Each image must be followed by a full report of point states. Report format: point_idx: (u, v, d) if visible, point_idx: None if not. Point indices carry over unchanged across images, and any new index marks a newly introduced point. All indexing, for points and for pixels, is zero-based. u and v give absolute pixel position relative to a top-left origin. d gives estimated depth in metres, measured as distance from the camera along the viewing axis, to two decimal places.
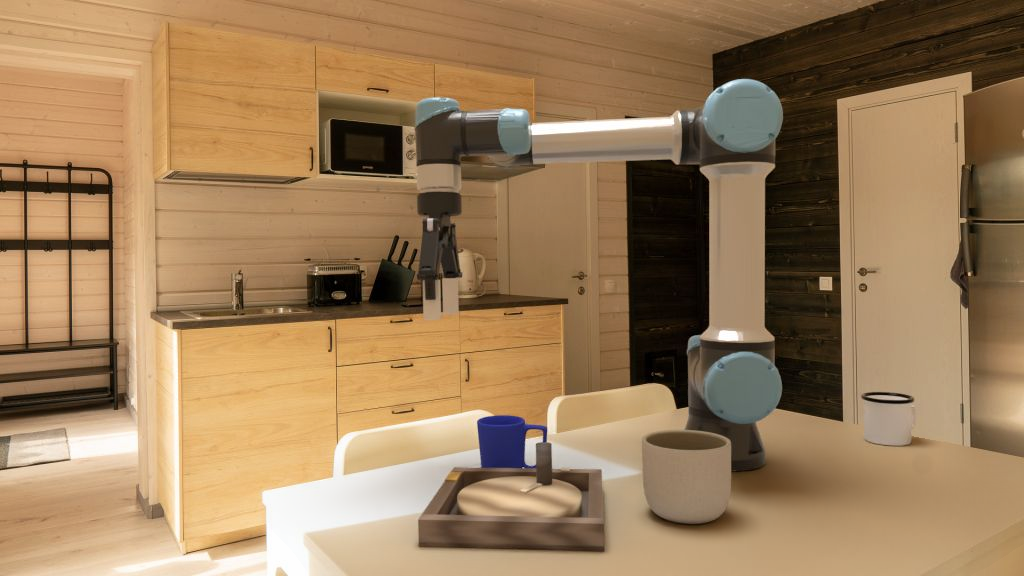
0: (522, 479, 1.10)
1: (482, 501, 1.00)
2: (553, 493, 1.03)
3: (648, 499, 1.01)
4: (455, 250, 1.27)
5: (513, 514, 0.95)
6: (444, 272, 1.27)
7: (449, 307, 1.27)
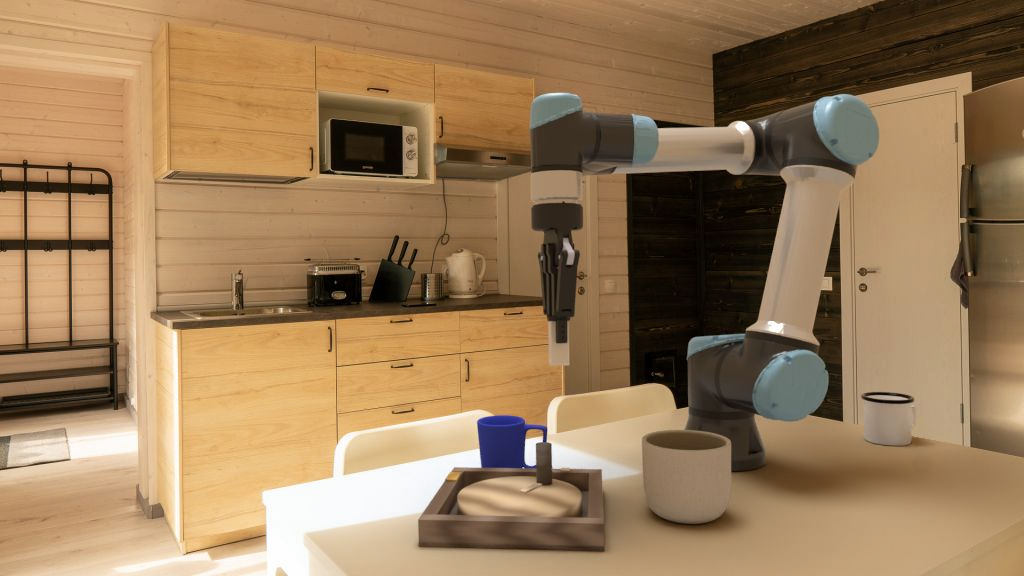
0: (522, 479, 1.10)
1: (482, 501, 1.00)
2: (553, 493, 1.03)
3: (648, 499, 1.01)
4: None
5: (513, 514, 0.95)
6: None
7: None
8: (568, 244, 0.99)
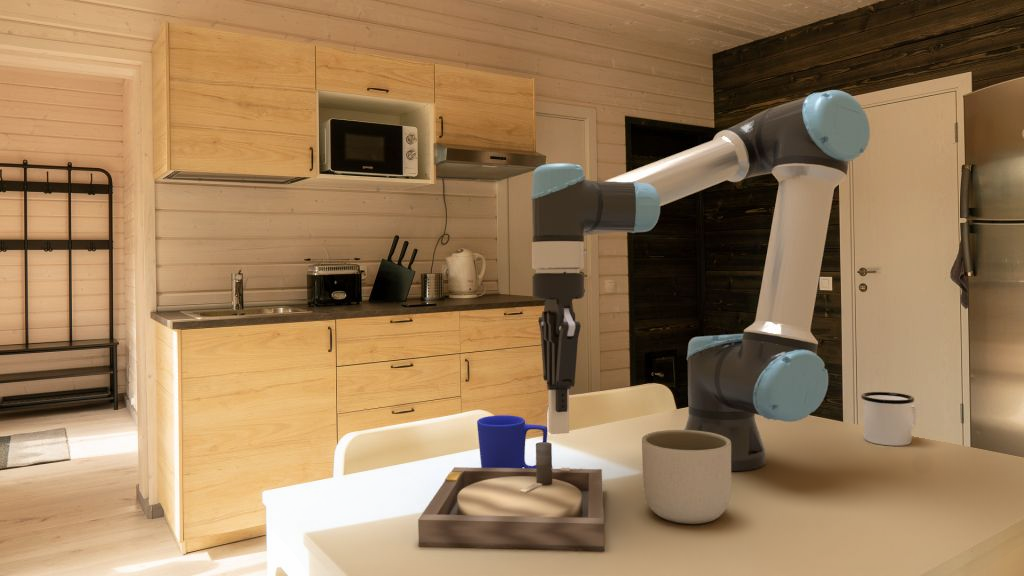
0: (522, 479, 1.10)
1: (482, 501, 1.00)
2: (553, 493, 1.03)
3: (648, 499, 1.01)
4: None
5: (513, 514, 0.95)
6: None
7: None
8: (569, 315, 0.99)
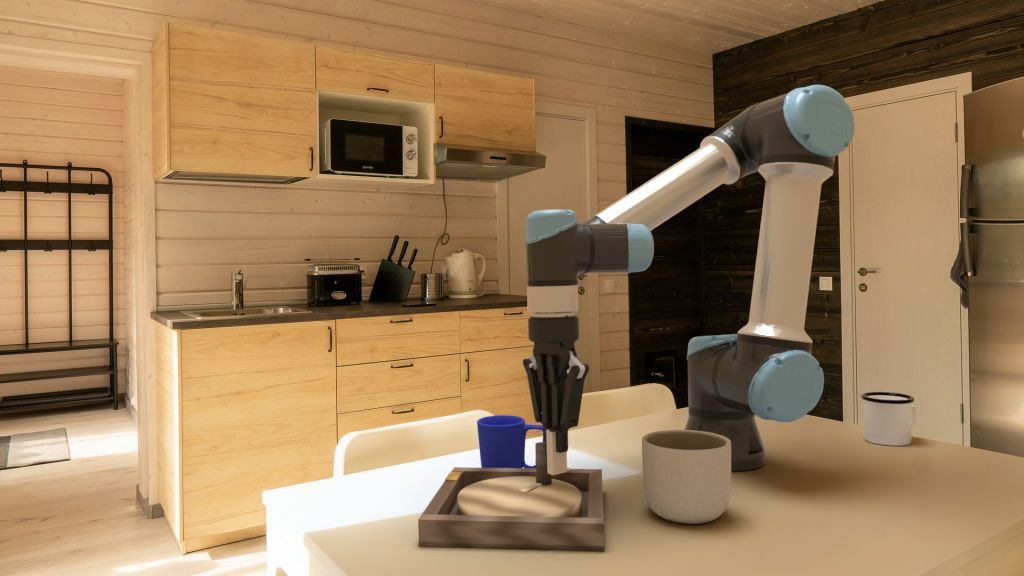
0: (522, 479, 1.10)
1: (483, 502, 1.00)
2: (553, 493, 1.03)
3: (648, 499, 1.01)
4: (565, 395, 1.02)
5: (514, 514, 0.95)
6: None
7: None
8: (574, 358, 1.02)
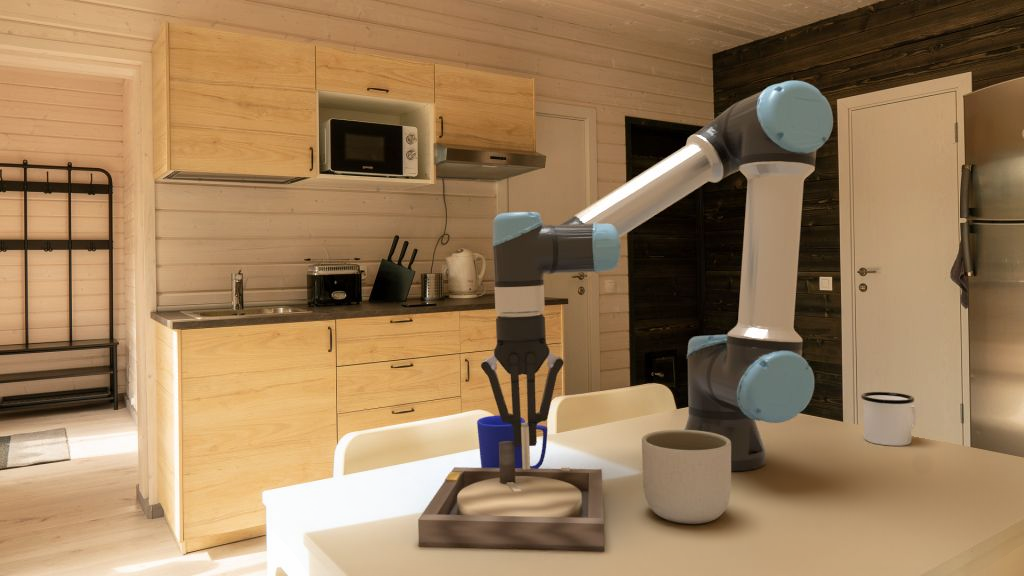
0: (483, 484, 1.08)
1: (513, 508, 0.97)
2: (538, 485, 1.07)
3: (648, 499, 1.01)
4: (546, 388, 1.08)
5: (562, 506, 0.97)
6: None
7: None
8: None
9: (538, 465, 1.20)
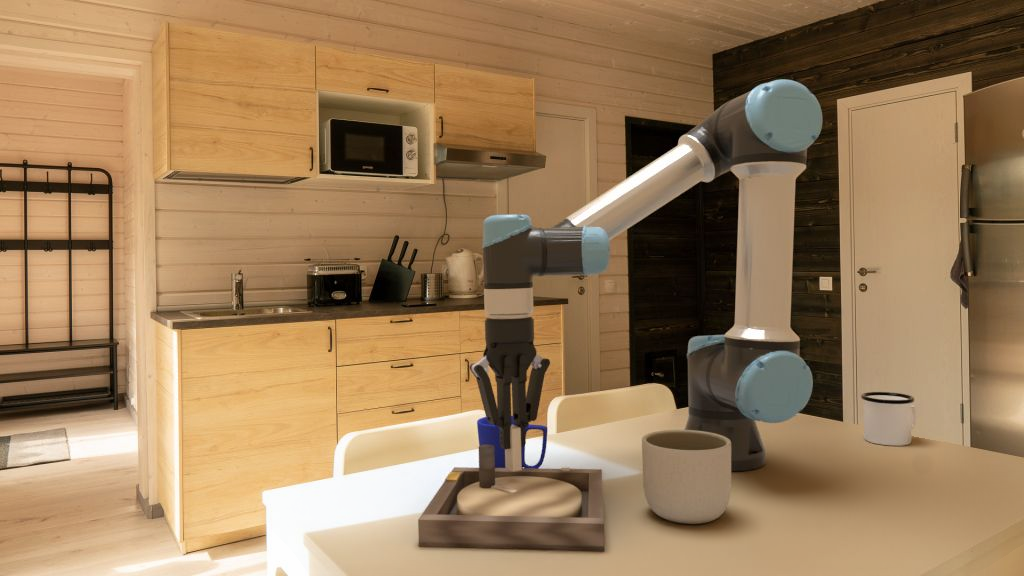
0: (470, 492, 1.04)
1: (536, 507, 0.97)
2: (520, 484, 1.08)
3: (648, 499, 1.01)
4: (535, 388, 1.10)
5: (575, 497, 1.01)
6: (513, 414, 1.10)
7: None
8: None
9: (538, 465, 1.20)
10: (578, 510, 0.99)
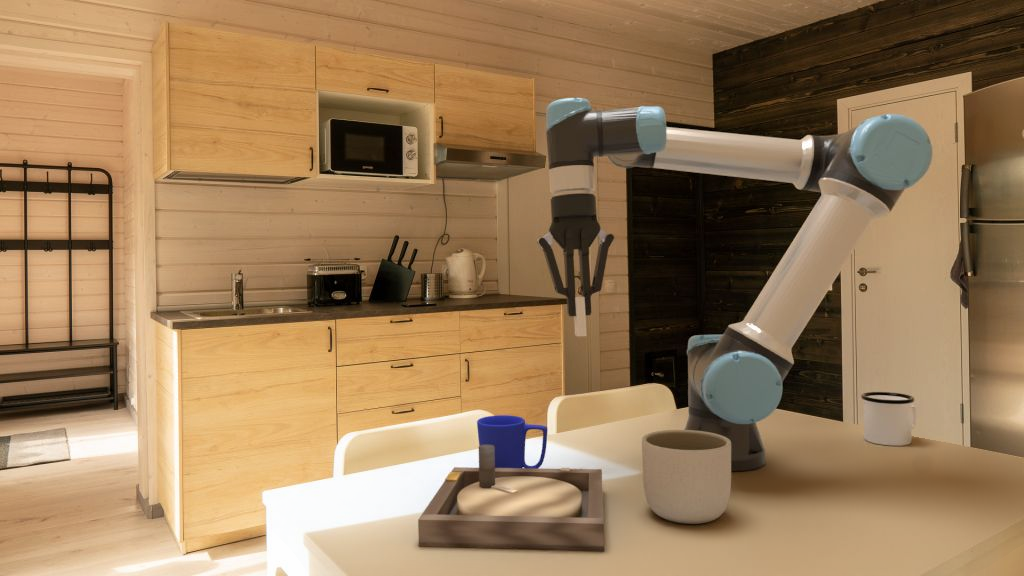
0: (470, 492, 1.04)
1: (536, 507, 0.97)
2: (520, 484, 1.08)
3: (648, 499, 1.01)
4: (599, 261, 1.18)
5: (575, 497, 1.01)
6: (581, 286, 1.20)
7: None
8: (600, 229, 1.19)
9: (538, 465, 1.20)
10: (578, 510, 0.99)
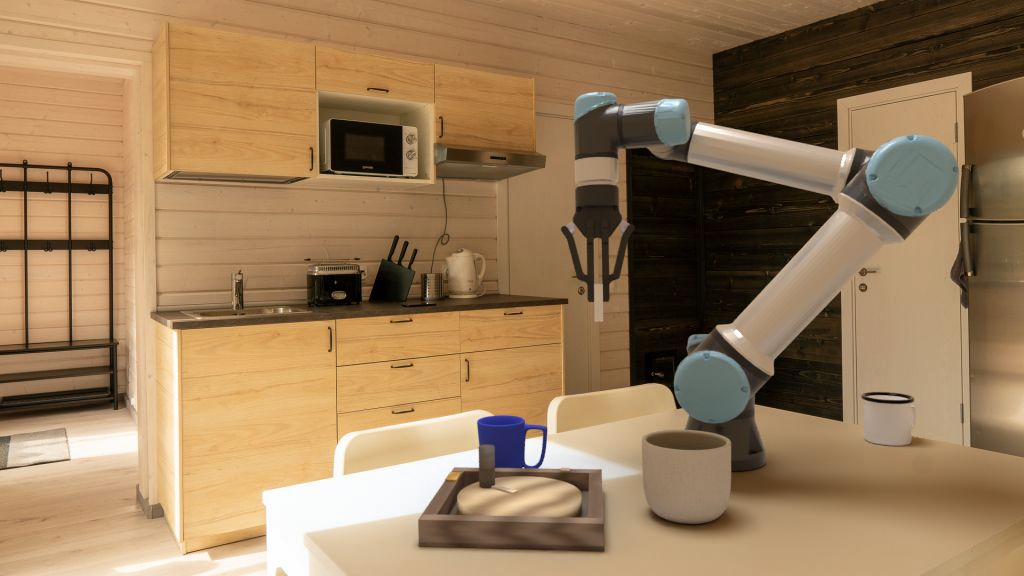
0: (470, 492, 1.04)
1: (536, 507, 0.97)
2: (520, 484, 1.08)
3: (648, 499, 1.01)
4: (618, 250, 1.22)
5: (575, 497, 1.01)
6: None
7: None
8: (622, 220, 1.23)
9: (538, 465, 1.20)
10: (578, 510, 0.99)
